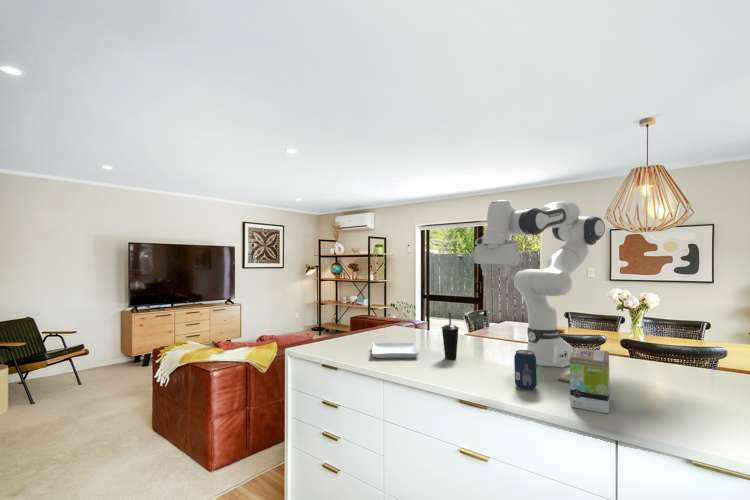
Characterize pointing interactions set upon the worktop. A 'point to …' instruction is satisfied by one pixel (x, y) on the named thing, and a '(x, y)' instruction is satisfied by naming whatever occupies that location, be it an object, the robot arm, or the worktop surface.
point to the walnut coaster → (565, 378)
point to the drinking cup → (450, 340)
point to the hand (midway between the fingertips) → (494, 276)
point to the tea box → (589, 380)
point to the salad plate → (394, 350)
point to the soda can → (525, 370)
